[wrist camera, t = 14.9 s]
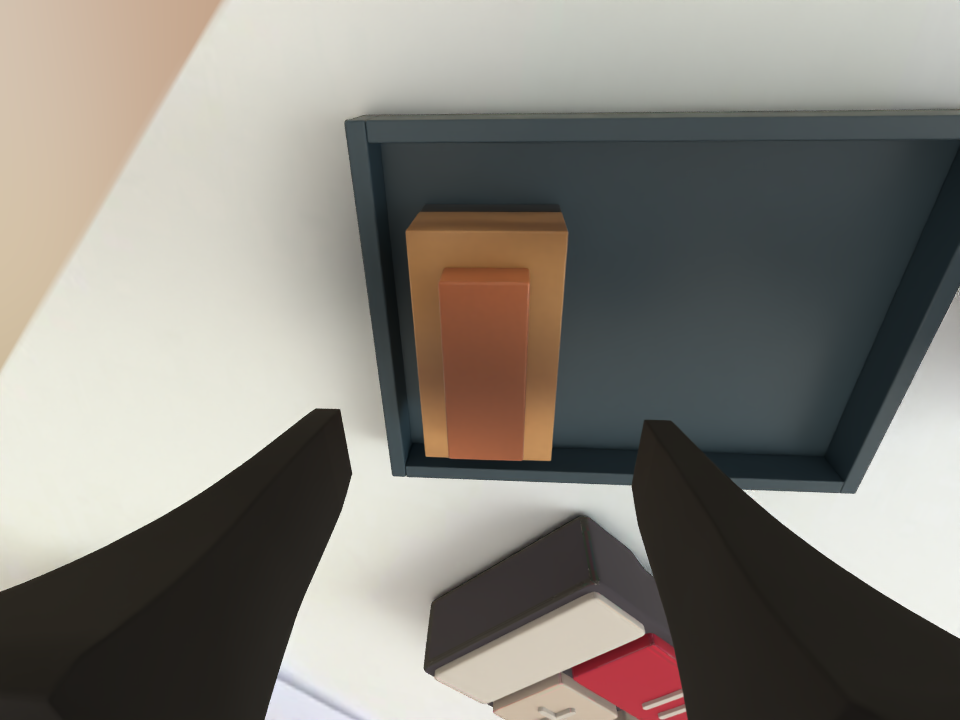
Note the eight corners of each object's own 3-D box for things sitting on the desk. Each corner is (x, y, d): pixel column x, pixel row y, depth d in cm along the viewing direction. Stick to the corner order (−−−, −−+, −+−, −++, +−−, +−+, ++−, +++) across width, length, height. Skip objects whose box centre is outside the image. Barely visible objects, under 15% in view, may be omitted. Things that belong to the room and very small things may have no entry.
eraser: (424, 203, 16) (395, 243, 12) (560, 203, 16) (573, 244, 12) (437, 404, 20) (419, 481, 16) (546, 407, 20) (553, 486, 16)
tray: (980, 109, 14) (1047, 113, 12) (826, 457, 21) (855, 494, 19) (363, 115, 15) (343, 120, 14) (402, 443, 22) (391, 476, 20)
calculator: (606, 781, 29) (416, 687, 24) (594, 700, 33) (427, 602, 27) (783, 727, 25) (600, 597, 19) (746, 641, 29) (583, 511, 23)
